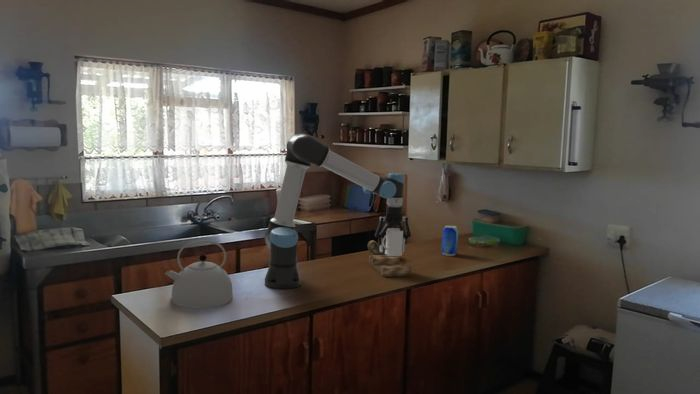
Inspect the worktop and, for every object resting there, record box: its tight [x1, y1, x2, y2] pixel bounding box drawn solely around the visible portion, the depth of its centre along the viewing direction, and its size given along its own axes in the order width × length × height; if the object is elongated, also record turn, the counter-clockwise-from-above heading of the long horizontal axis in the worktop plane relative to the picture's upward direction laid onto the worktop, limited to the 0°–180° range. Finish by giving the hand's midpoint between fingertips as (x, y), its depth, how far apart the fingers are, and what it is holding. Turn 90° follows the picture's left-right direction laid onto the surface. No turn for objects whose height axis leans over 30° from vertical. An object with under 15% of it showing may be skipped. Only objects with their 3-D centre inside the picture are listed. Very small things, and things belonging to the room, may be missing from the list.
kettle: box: [164, 240, 234, 309], centre depth 194 cm, size 25×23×22 cm
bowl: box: [367, 239, 386, 256], centre depth 269 cm, size 14×18×10 cm
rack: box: [368, 255, 412, 277], centre depth 247 cm, size 14×22×4 cm, turn 15°
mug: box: [382, 227, 404, 257], centre depth 244 cm, size 12×8×12 cm
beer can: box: [440, 224, 459, 257], centre depth 282 cm, size 8×8×16 cm
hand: (391, 251), depth 244 cm, fingers closed on mug, 10 cm apart
